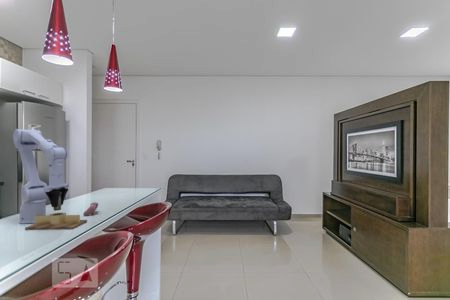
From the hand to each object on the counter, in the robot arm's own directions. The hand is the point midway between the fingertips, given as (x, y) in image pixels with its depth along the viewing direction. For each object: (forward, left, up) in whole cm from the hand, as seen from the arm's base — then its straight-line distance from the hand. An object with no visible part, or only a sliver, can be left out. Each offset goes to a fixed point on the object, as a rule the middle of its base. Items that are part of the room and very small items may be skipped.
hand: (57, 206), depth 115 cm
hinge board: (0, 0, -9) cm, 9 cm away
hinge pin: (0, 0, -2) cm, 2 cm away
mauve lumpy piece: (+4, +22, -9) cm, 24 cm away
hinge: (0, 0, -9) cm, 9 cm away
